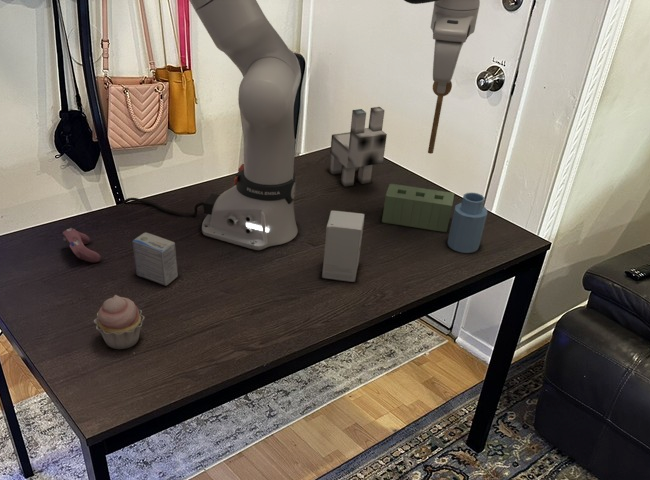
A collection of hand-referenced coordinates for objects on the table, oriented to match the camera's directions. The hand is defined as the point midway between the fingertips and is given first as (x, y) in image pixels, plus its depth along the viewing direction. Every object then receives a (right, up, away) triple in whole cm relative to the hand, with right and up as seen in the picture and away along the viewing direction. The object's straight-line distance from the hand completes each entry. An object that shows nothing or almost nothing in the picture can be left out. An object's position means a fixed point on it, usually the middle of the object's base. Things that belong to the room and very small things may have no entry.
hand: (441, 90), depth 151 cm
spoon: (0, -10, +9) cm, 14 cm away
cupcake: (-65, -54, -17) cm, 86 cm away
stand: (-1, -23, +21) cm, 31 cm away
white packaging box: (-21, -39, +3) cm, 44 cm away
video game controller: (-78, -35, +5) cm, 86 cm away
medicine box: (-61, -40, 0) cm, 73 cm away
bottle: (+8, -31, +13) cm, 34 cm away
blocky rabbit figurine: (-15, -9, +38) cm, 41 cm away
